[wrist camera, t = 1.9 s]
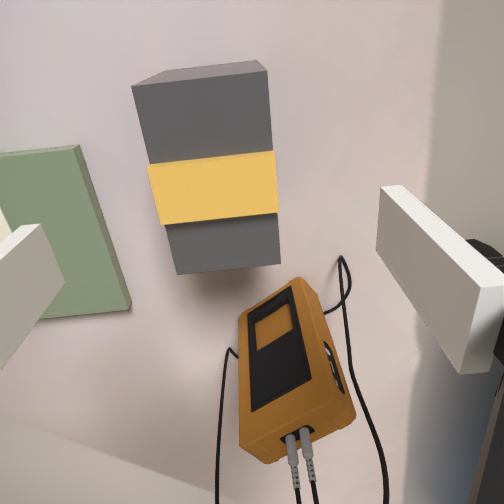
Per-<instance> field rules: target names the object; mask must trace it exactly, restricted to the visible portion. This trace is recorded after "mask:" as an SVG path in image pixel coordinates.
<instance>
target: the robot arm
mask: <svg viewBox="0 0 504 504" xmlns="http://www.w3.org/2000/svg"><path fill="white" fill-rule="evenodd" d="M376 251H377V253H378V254H379V256H380V257H381V259H382V260H383V262H384V263H385V265H386V266H387V268H388V269H389V271H390V272H391V274H392V275H393V277H394V278H395V280H396V281H397V283H398V284H399V286H400V287H401V288H402V290H403V291H404V293H405V294H406V296H407V297H408V299H409V300H410V302H411V303H412V305H413V306H414V308H415V309H416V311H417V312H418V314H419V315H420V317H421V318H422V320H423V321H424V323H425V324H426V326H427V327H428V329H429V330H430V332H431V333H432V335H433V336H434V338H435V339H436V341H437V342H438V344H439V345H440V347H441V348H442V350H443V351H444V353H445V354H446V356H447V357H448V359H449V360H450V362H451V363H452V365H453V366H454V368H455V369H456V371H457V372H458V374H471V373H481V372H489V370H490V366H491V363H492V360H493V357H494V354H495V356H496V357H497V358H498V359H499V360H500V362H501V363H502V364H503V365H504V258H503V257H502V255H501V254H500V253H499V252H497V251H496V250H495V249H494V248H492V247H491V246H489V245H487V244H485V243H482V242H480V241H478V240H475V239H469V240H464V239H463V238H462V237H461V236H459V235H458V234H457V233H456V232H455V231H454V230H452V229H451V228H450V227H449V226H448V225H447V224H445V223H444V222H443V221H442V220H441V219H439V217H437V216H436V215H435V214H434V213H433V212H432V211H430V210H429V209H428V208H427V207H426V206H425V205H423V204H422V203H421V202H420V201H419V200H418V199H417V198H415V197H414V196H413V195H412V194H411V193H410V192H408V191H407V190H406V189H405V188H404V187H403V186H401V185H395V186H386V187H380V201H379V214H378V227H377V241H376ZM64 284H65V280H64V277H63V275H62V272H61V270H60V268H59V265H58V263H57V261H56V258H55V256H54V254H53V251H52V249H51V246H50V244H49V242H48V239H47V237H46V235H45V232H44V230H43V228H42V225H41V223H40V224H31V225H21V226H20V227H19V228H18V229H17V230H15V231H14V232H13V233H12V234H11V235H9V236H8V237H7V238H6V239H5V240H3V241H2V242H1V243H0V372H1V370H2V369H3V368H4V366H5V365H6V364H7V362H8V361H9V359H10V358H11V357H12V355H13V354H14V353H15V351H16V350H17V348H18V347H19V346H20V344H21V343H22V342H23V340H24V339H25V337H26V336H27V335H28V333H29V332H30V331H31V329H32V328H33V326H34V325H35V324H36V322H37V321H38V320H39V318H40V317H41V315H42V314H43V313H44V311H45V310H46V308H47V307H48V306H49V304H50V303H51V302H52V300H53V299H54V297H55V296H56V295H57V293H58V292H59V291H60V289H61V288H62V286H63V285H64ZM495 397H496V398H495V401H494V405H493V409H492V413H491V416H490V420H489V424H488V428H487V431H486V435H485V439H484V442H483V447H482V450H481V454H480V458H479V461H478V465H477V468H476V472H475V476H474V480H473V483H472V487H471V491H470V495H469V499H468V502H467V504H504V369H503V372H502V375H501V378H500V382H499V384H498V388H497V390H496V393H495Z"/></svg>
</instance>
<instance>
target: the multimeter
mask: <svg viewBox="0 0 504 504" xmlns="http://www.w3.org/2000/svg"><path fill="white" fill-rule="evenodd" d="M341 260H342V261H343V264H344V266H345V268H346V271H347V275H348V280H349V286H348V290H347V292H346V294H345V296H344V288H343V279H342V266H341ZM338 269H339V282H340V292H341V301H340V303H339V304H338V305H337V306H335V307H334V308H332V309H330V310H328V311H325V312H323V311H322V308H321V305H320V302H319V299H318V295H317V294H316V292H315V291H314V290H313V289H312V288H311V287H310V286H309V285H308V284H307V282H306V281H305V280H304V279H303V278H300V277H297V278H295V279H293V280H291V281H290V282H289V283H288V284H287V285H285V286H284V287H282V288H281V289H279V290H278V291H276V292H275V293H273V294H272V295H270V296H269V297H267V298H266V299H264V300H263V301H261V302H260V303H258V304H257V305H255V306H254V307H252V308H251V309H247V310H246V311H245V312H243V313H242V314H241V315H240V317H239V356H237V355H236V354H235V353H234V352H233V350H232V349H231V348H230V347H229V348H228V349H227V352H226V356H225V362H224V370H223V378H222V389H221V399H220V411H219V423H218V436H217V450H216V470H215V504H219V459H220V441H221V427H222V413H223V400H224V388H225V377H226V368H227V361H228V355H229V351H230V352H231V353H232V354H233V355H234V356H235V357H236V358H237V359H239V446H240V447H241V448H242V449H244V450H245V451H247V452H248V453H250V454H251V455H253V456H254V457H256V458H257V459H258V460H260V461H261V462H263V463H264V464H271V463H273V462H276V461H278V460H279V459H280V458H282V457H284V456H286V455H287V456H288V464H289V465H290V466H291V469H292V470H291V472H292V479H293V484H294V486H293V488H294V490H295V494H296V502H297V504H301V497H300V481H299V474H298V467H297V465H298V463H299V461H298V454H297V450H298V449H300V448H302V453H303V457H304V458H305V459H306V465H307V471H308V477H309V482H310V483H311V488H312V494H313V500H314V504H319V501H318V495H317V489H316V484H315V482H316V477H315V471H314V466H313V460H312V458H313V450H312V444H311V443H312V442H314V441H316V440H318V439H320V438H322V437H324V436H326V435H328V434H330V433H332V432H334V431H336V430H338V429H343V428H344V427H346V426H348V425H349V424H351V423H352V422H353V421H354V420H355V418H356V412H355V409H354V405H353V402H352V399H351V396H350V393H349V390H348V387H347V384H346V381H345V377H344V374H343V371H342V368H341V365H340V362H339V359H338V356H337V352H336V349H335V346H334V343H333V340H332V337H331V334H330V331H329V328H328V326H327V322H326V319H325V316H324V315H325V314H328V313H330V312H332V311H334V310H336V309H337V308H339V307H340V306H341V305H342V310H343V318H344V327H345V335H346V344H347V354H348V365H349V371H350V375H351V379H352V381H353V384H354V387H355V390H356V393H357V396H358V398H359V401H360V404H361V406H362V409H363V411H364V414H365V417H366V419H367V422H368V424H369V427H370V430H371V432H372V435H373V438H374V440H375V444H376V447H377V450H378V453H379V458H380V462H381V468H382V475H383V490H384V495H383V504H389V479H388V472H387V465H386V461H385V457H384V452H383V449H382V446H381V443H380V440H379V437H378V435H377V432H376V430H375V427H374V424H373V422H372V419H371V417H370V414H369V412H368V409H367V407H366V404H365V402H364V399H363V397H362V394H361V392H360V389H359V386H358V383H357V381H356V378H355V374H354V370H353V366H352V356H351V346H350V337H349V329H348V321H347V313H346V305H345V299H346V298H347V296H348V295H349V293H350V290H351V284H352V282H351V276H350V272H349V269H348V266H347V264H346V262H345V259H344V258H343V257H342V256H340V257H339V259H338Z"/></svg>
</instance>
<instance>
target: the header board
mask: <svg viewBox="0 0 504 504" xmlns="http://www.w3.org/2000/svg"><path fill="white" fill-rule="evenodd" d="M40 223H41V225H42V228H43V230H44V232H45V235H46V237H47V239H48V242H49V244H50V246H51V249H52V251H53V254H54V256H55V258H56V261H57V263H58V265H59V268H60V270H61V272H62V275H63V277H64V280H65V284H64V285H63V286H62V288H61V289H60V291H59V292H58V293H57V295H56V296H55V297H54V299H53V300H52V302H51V303H50V304H49V306H48V307H47V308H46V310H45V311H44V313H43V314H42V315H41V317H40V318H39V319H45V318H54V317H64V316H73V315H83V314H92V313H102V312H111V311H121V310H128V309H129V307H130V304H131V302H132V301H131V298H130V295H129V292H128V289H127V286H126V283H125V280H124V277H123V274H122V271H121V268H120V265H119V262H118V259H117V256H116V253H115V250H114V247H113V244H112V241H111V238H110V235H109V232H108V229H107V226H106V223H105V220H104V217H103V214H102V211H101V208H100V205H99V202H98V199H97V196H96V193H95V190H94V187H93V184H92V181H91V178H90V175H89V172H88V169H87V166H86V163H85V160H84V157H83V154H82V151H81V148H80V145H72V146H63V147H54V148H45V149H36V150H27V151H18V152H9V153H1V154H0V243H1V242H2V241H3V240H5V239H6V238H7V237H8V236H9V235H11V234H12V233H13V232H14V231H15V230H17V229H18V228H19V227H20V226H21V225H31V224H40Z"/></svg>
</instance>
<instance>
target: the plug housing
mask: <svg viewBox="0 0 504 504" xmlns="http://www.w3.org/2000/svg"><path fill="white" fill-rule="evenodd" d="M131 88H132V92H133V96H134V100H135V104H136V109H137V113H138V117H139V121H140V125H141V129H142V133H143V137H144V141H145V145H146V149H147V154H148V158H149V162H150V164H149V165H148V167H147V172H148V176H149V180H150V184H151V188H152V192H153V196H154V200H155V204H156V208H157V212H158V216H159V220H160V224H161V225H165V227H166V231H167V235H168V240H169V244H170V248H171V252H172V256H173V260H174V264H175V268H176V272H177V275H181V274H190V273H200V272H209V271H219V270H228V269H237V268H247V267H256V266H266V265H275V264H281V257H280V243H279V229H278V215H277V212H279V204H278V190H277V175H276V161H275V152H274V151H273V146H272V132H271V118H270V104H269V90H268V76H267V70H266V69H265V68H264V67H263V66H262V65H261V64H260V63H259V62H258V61H257V60H254V61H246V62H237V63H228V64H220V65H211V66H202V67H194V68H185V69H176V70H168V71H163V72H161V73H159V74H157V75H155V76H152V77H150V78H148V79H146V80H144V81H141V82H139V83H137V84H135V85H133V86H131Z"/></svg>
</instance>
